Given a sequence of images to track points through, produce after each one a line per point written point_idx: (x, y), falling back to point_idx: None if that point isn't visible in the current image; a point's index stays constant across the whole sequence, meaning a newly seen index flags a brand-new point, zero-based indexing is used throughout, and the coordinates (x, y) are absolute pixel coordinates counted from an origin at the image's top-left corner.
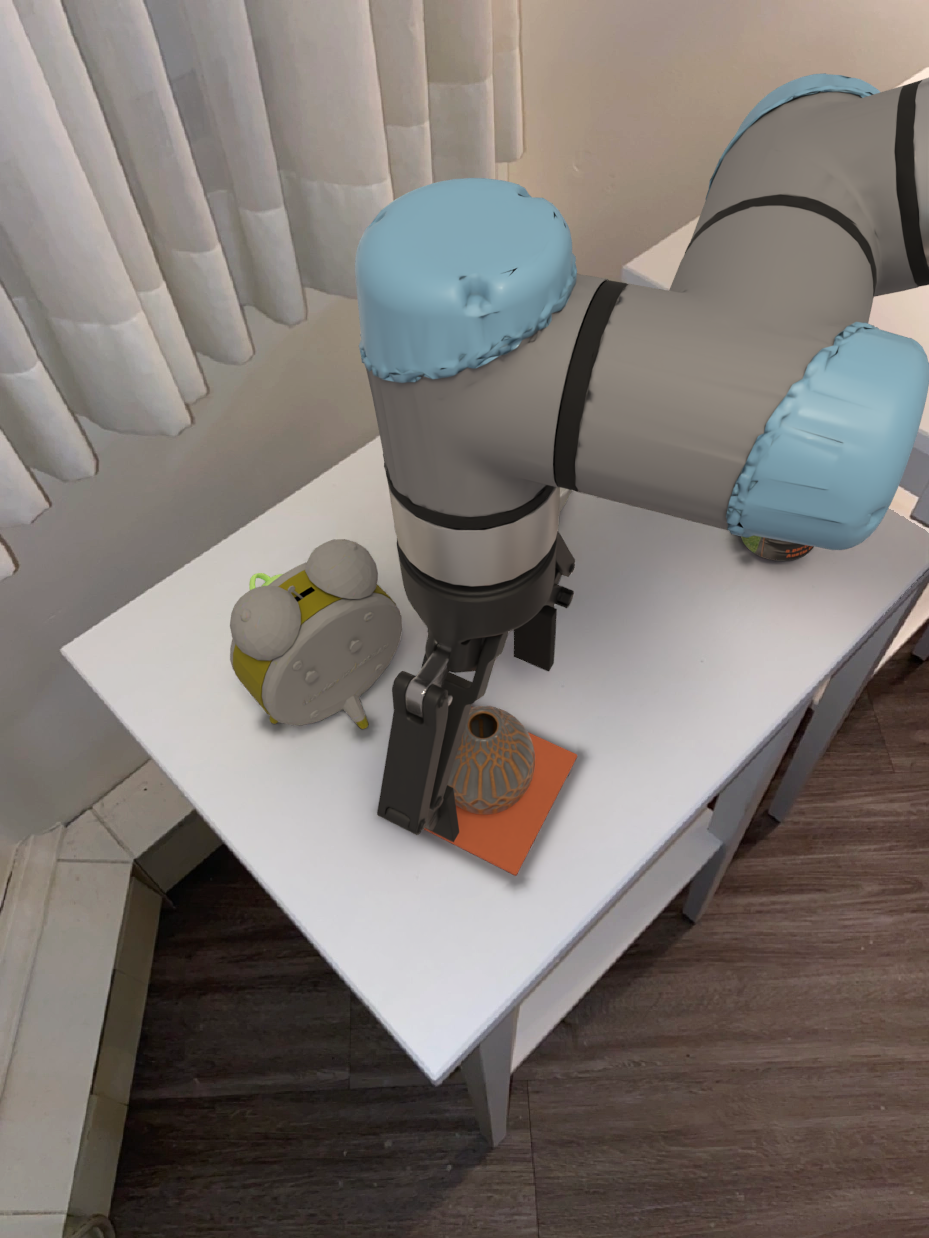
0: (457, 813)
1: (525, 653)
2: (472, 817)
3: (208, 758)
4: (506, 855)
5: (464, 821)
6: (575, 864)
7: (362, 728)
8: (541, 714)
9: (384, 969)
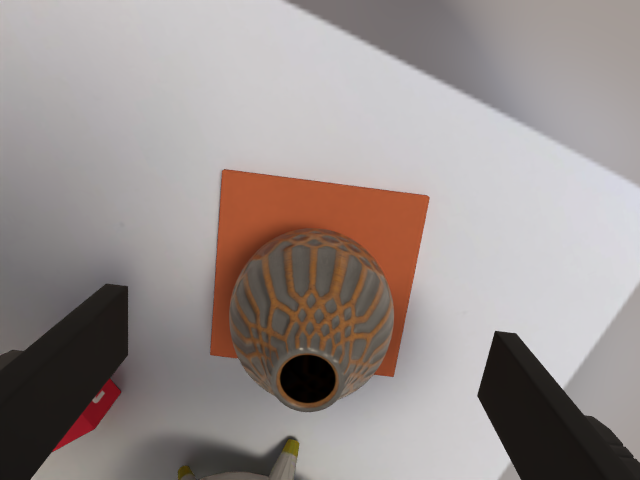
0: None
1: (114, 348)
2: None
3: None
4: (407, 218)
5: None
6: (386, 121)
7: (298, 444)
8: (180, 239)
9: (585, 307)
